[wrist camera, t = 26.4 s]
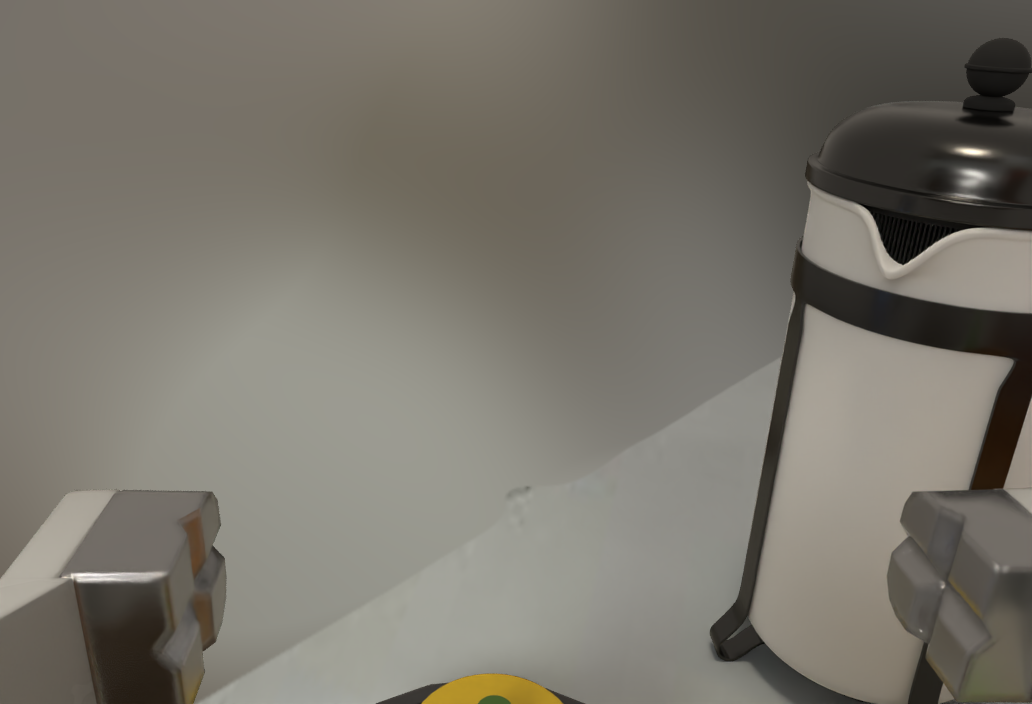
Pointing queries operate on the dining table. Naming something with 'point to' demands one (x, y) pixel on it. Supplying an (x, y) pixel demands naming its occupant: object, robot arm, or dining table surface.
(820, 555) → the coffee press
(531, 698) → the pepper
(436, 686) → the bowl
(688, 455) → the dining table surface
